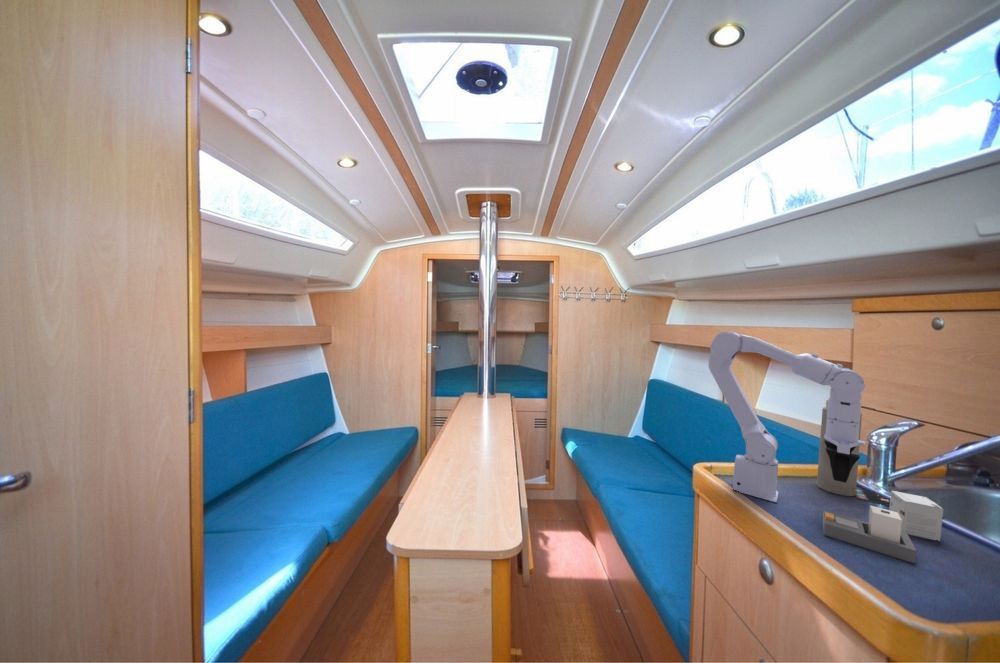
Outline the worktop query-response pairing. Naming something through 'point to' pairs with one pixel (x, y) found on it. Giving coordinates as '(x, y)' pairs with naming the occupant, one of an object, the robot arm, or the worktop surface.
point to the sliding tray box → (866, 536)
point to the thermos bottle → (824, 466)
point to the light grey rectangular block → (884, 524)
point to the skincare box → (917, 515)
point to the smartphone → (871, 497)
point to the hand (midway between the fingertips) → (838, 476)
